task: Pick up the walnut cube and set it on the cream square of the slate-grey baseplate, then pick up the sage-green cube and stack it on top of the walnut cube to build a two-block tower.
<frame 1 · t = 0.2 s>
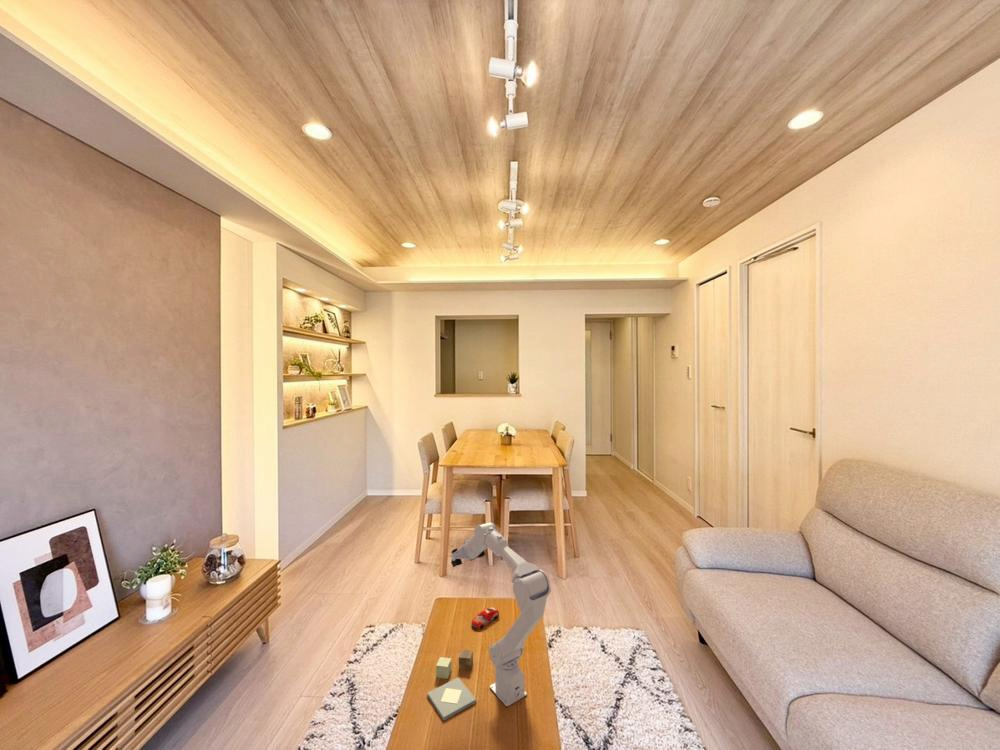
hand: (461, 561, 148), 31 cm above the table, tool tilted 45°, fingers open, 7 cm apart
sage cube: (443, 673, 132), on the table
race car: (485, 622, 161), on the table
walnut cube: (466, 665, 136), on the table
baseplate: (451, 699, 121), on the table
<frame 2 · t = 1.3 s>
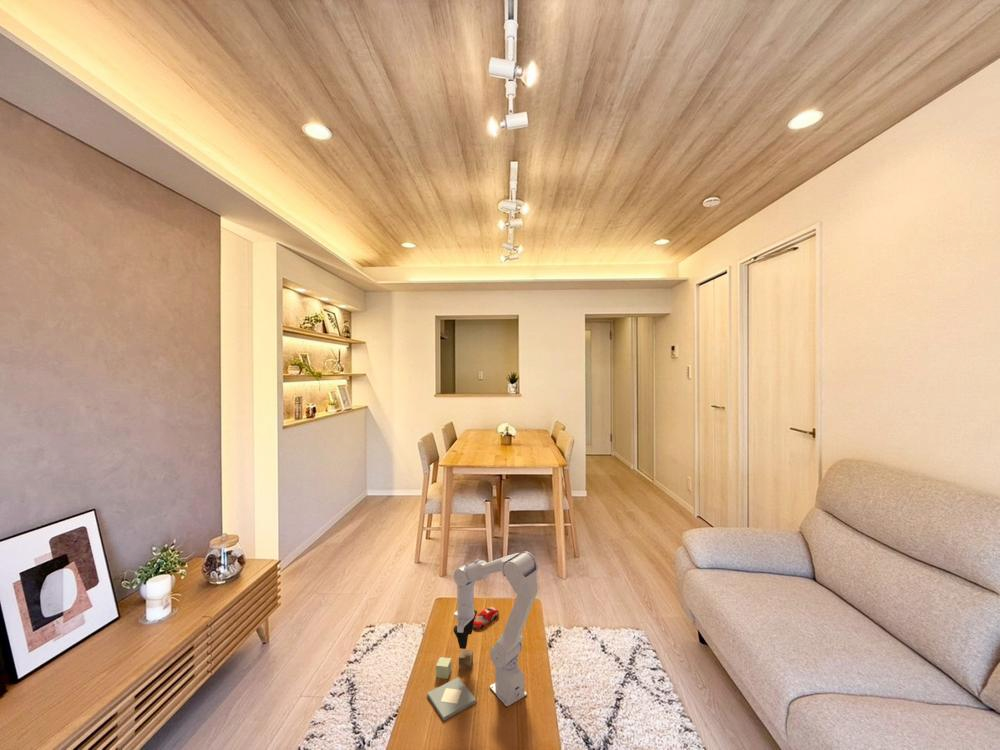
hand: (465, 640, 136), 8 cm above the table, tool pointing down, fingers open, 7 cm apart
nothing on the table moved.
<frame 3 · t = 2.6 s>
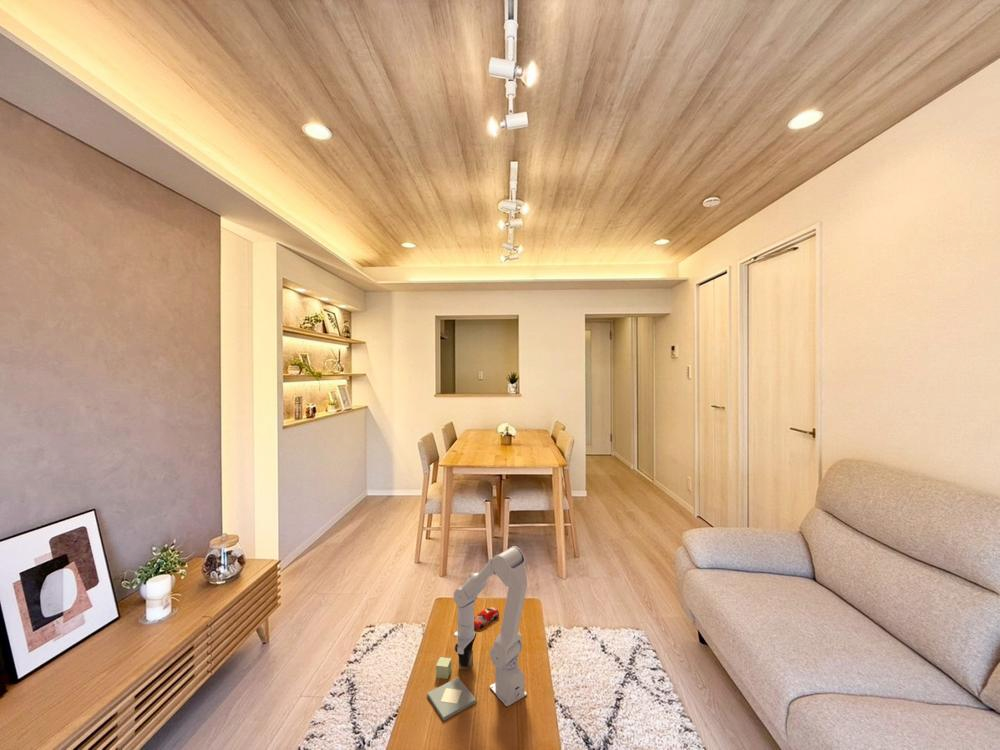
hand: (465, 661, 136), 1 cm above the table, tool pointing down, fingers closed on walnut cube, 4 cm apart
walnut cube: (465, 665, 136), on the table, touching gripper
everything else where it was.
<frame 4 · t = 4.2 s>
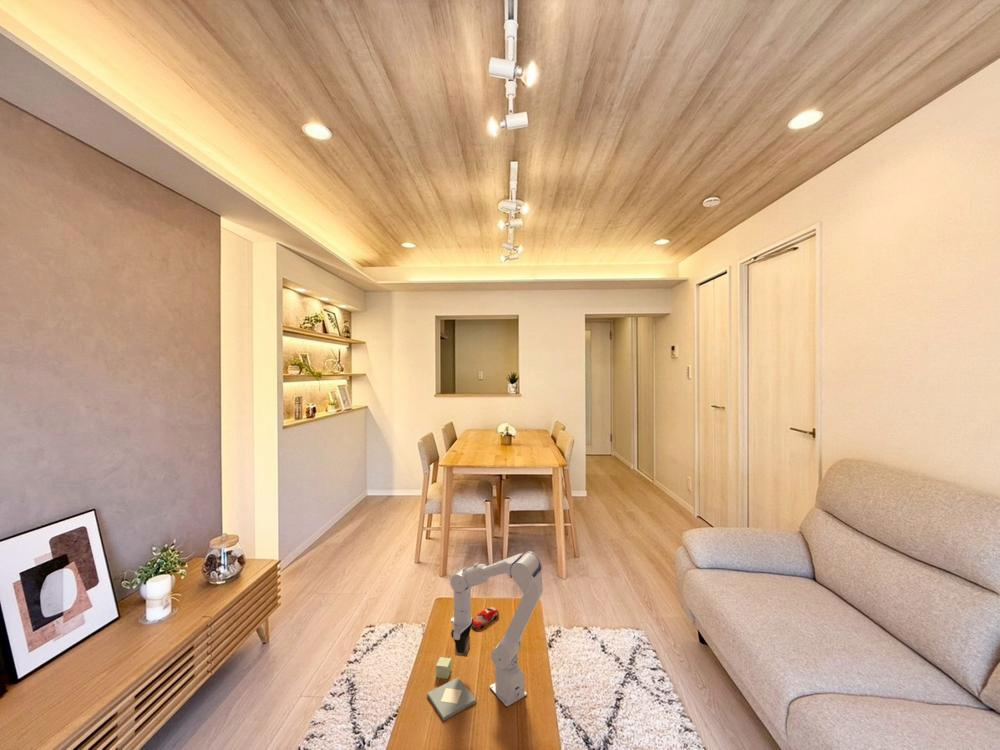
hand: (462, 647, 132), 8 cm above the table, tool pointing down, fingers closed on walnut cube, 4 cm apart
walnut cube: (462, 652, 132), point 7 cm above the table, touching gripper
everything else where it was.
when the fingers open (3 cm above the table, at t = 6.2 s): walnut cube stays where it is, resting on baseplate.
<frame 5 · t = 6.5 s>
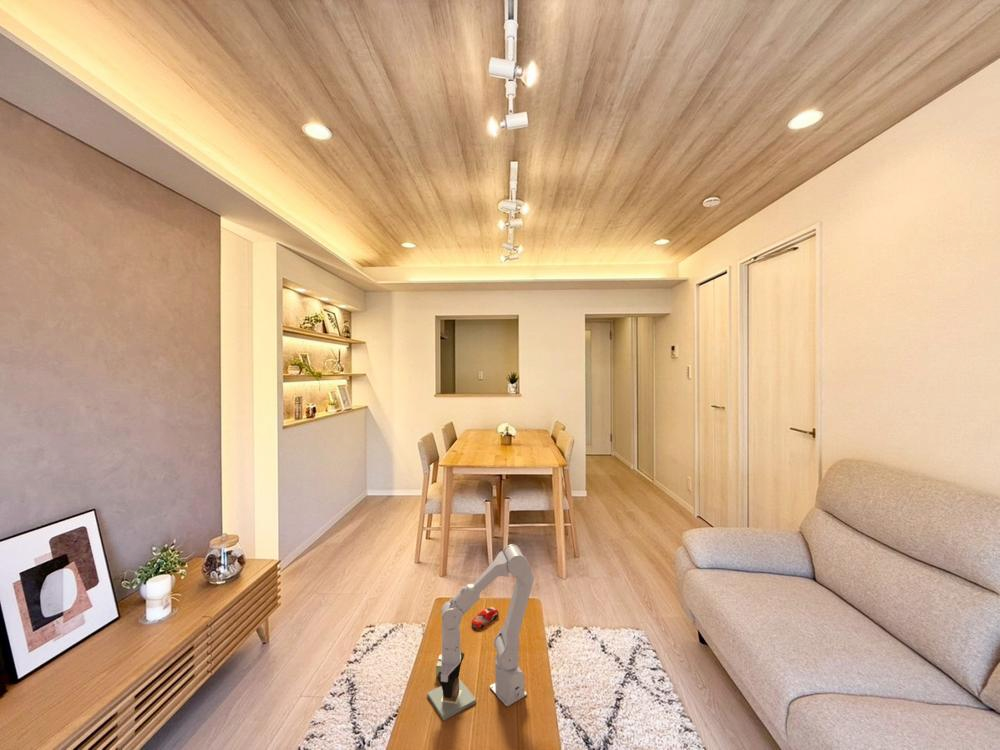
hand: (451, 688, 121), 3 cm above the table, tool pointing down, fingers open, 6 cm apart
walnut cube: (451, 695, 121), point 1 cm above the table, touching baseplate
everything else where it was.
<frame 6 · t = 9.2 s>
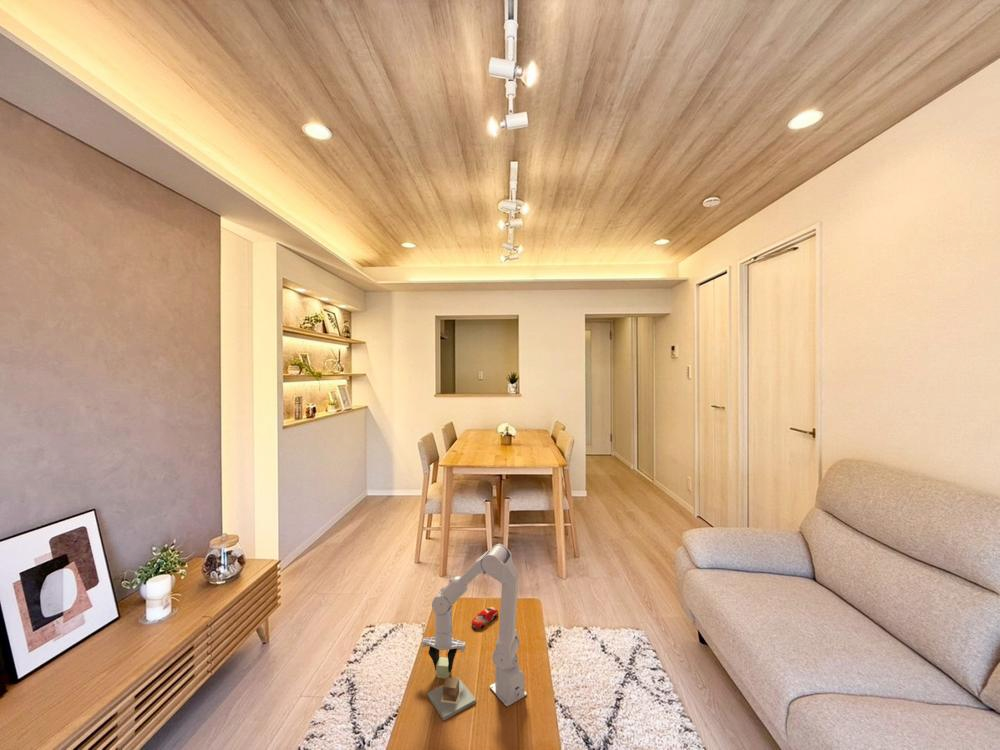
hand: (443, 669, 132), 1 cm above the table, tool pointing down, fingers closed on sage cube, 4 cm apart
sage cube: (443, 673, 132), on the table, touching gripper
everything else where it was.
when the fingers open (7 cm above the table, at t = 12.5 s): sage cube stays where it is, resting on walnut cube.
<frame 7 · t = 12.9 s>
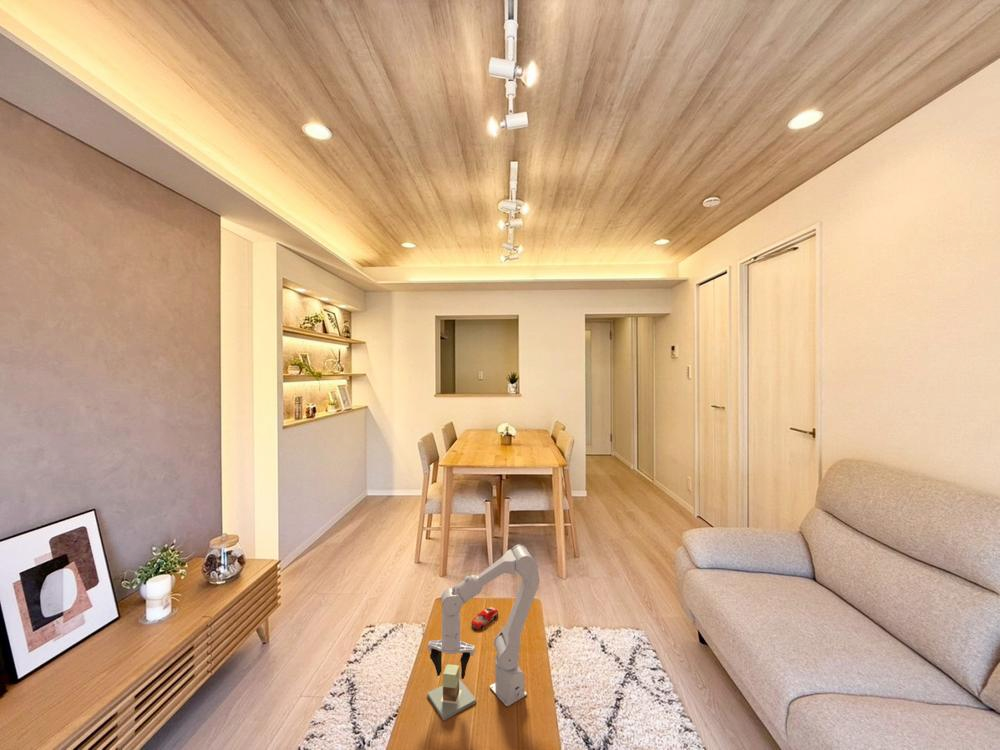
hand: (451, 675, 121), 7 cm above the table, tool pointing down, fingers open, 7 cm apart
sage cube: (451, 682, 121), point 5 cm above the table, touching walnut cube
walnut cube: (451, 695, 121), point 1 cm above the table, touching baseplate, sage cube
everything else where it was.
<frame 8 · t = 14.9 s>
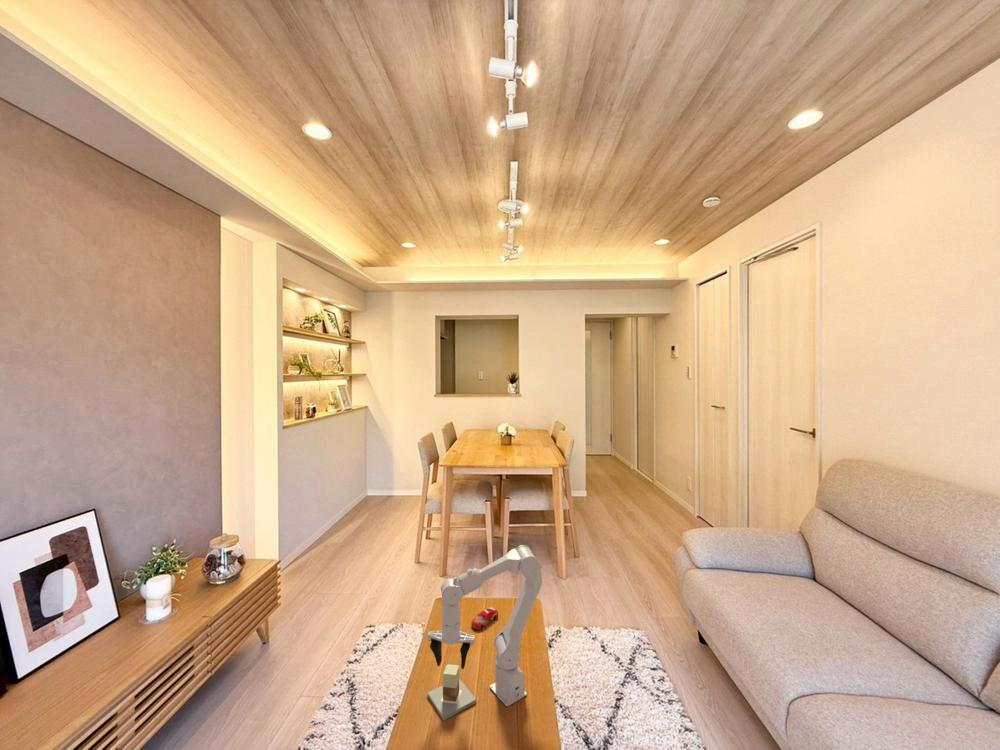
hand: (451, 665, 122), 10 cm above the table, tool pointing down, fingers open, 7 cm apart
nothing on the table moved.
at the end: walnut cube 0.1 cm off-centre on the baseplate, point 1.1 cm above the baseplate's base; sage cube 0.1 cm off-centre on the walnut cube, point 4.0 cm above the walnut cube's base; sage cube tilted 0° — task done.
